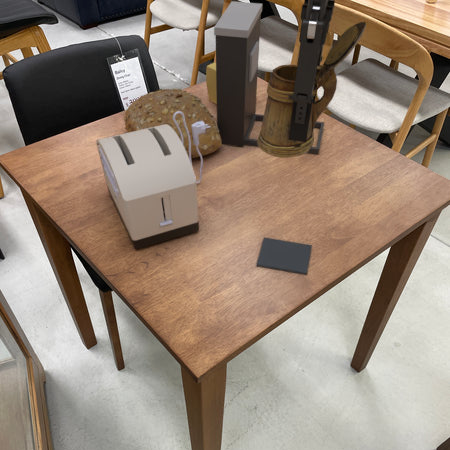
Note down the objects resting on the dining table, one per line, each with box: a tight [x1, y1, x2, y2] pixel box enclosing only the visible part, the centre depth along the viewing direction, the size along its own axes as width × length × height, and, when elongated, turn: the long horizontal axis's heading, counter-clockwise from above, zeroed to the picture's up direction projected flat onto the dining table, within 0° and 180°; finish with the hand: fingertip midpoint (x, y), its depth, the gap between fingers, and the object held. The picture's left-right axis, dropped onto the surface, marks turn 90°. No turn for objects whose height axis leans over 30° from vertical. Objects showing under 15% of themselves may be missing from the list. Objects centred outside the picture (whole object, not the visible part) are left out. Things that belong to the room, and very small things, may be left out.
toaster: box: [95, 111, 211, 250], centre depth 92 cm, size 23×25×17 cm
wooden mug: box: [257, 21, 367, 159], centre depth 65 cm, size 9×14×18 cm, turn 85°
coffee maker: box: [213, 0, 325, 155], centre depth 107 cm, size 26×17×28 cm, turn 76°
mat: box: [255, 236, 313, 276], centre depth 88 cm, size 10×8×1 cm
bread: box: [123, 88, 223, 159], centre depth 110 cm, size 24×21×12 cm
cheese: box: [205, 61, 217, 105], centre depth 125 cm, size 10×11×10 cm
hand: (301, 126), depth 70 cm, fingers closed on wooden mug, 7 cm apart
